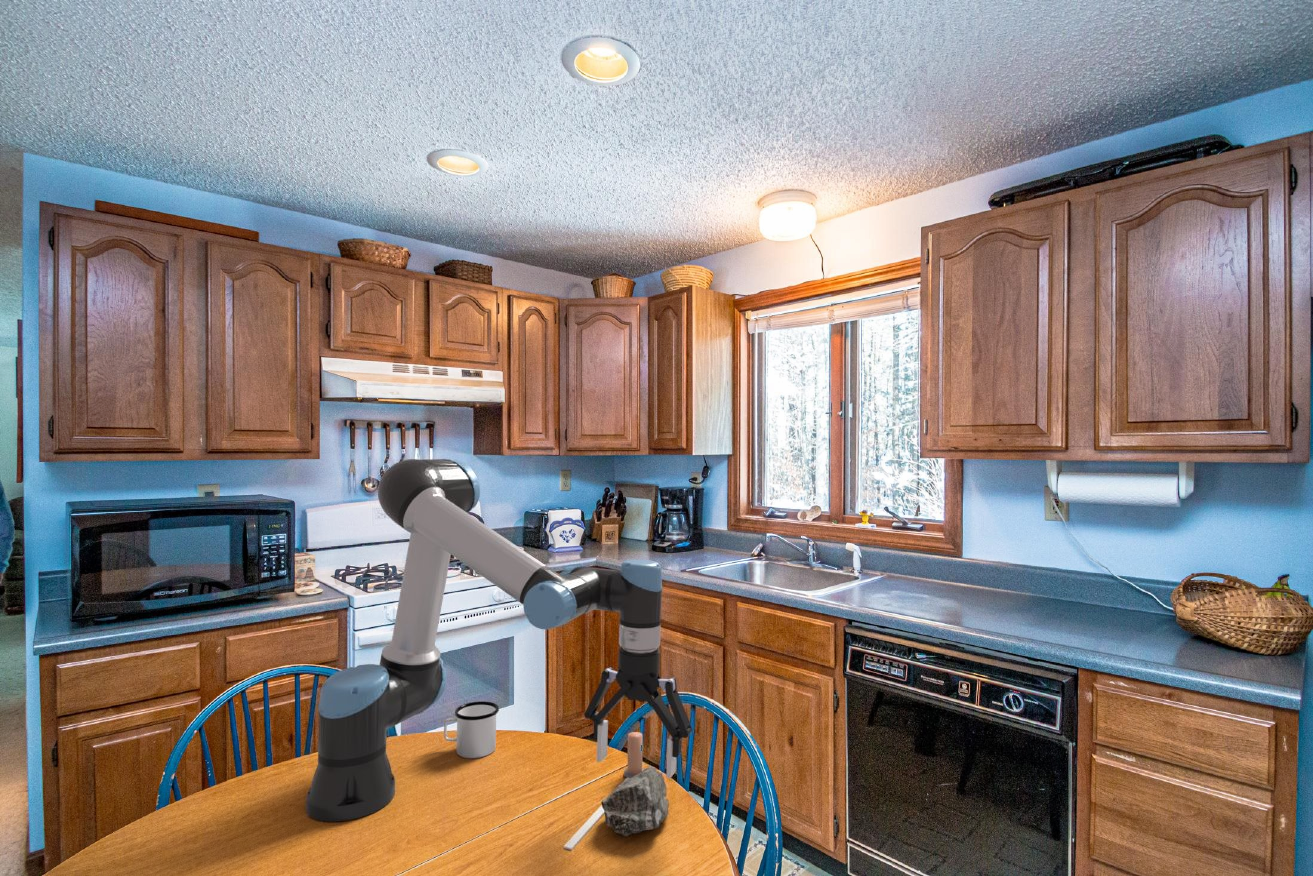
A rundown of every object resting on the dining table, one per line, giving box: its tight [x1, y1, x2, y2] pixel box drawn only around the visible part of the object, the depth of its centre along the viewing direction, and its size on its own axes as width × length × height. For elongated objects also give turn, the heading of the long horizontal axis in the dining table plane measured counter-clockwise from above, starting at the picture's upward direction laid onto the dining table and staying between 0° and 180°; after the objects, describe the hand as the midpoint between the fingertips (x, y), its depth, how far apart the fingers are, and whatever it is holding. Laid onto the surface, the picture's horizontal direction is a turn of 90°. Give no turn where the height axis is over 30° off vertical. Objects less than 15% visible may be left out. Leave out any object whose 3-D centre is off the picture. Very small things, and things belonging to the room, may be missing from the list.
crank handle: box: [563, 731, 645, 851], centre depth 120 cm, size 4×30×8 cm, turn 158°
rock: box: [600, 765, 670, 837], centre depth 116 cm, size 18×10×10 cm
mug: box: [443, 700, 500, 759], centre depth 143 cm, size 12×10×9 cm
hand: (635, 766), depth 116 cm, fingers open, 13 cm apart
